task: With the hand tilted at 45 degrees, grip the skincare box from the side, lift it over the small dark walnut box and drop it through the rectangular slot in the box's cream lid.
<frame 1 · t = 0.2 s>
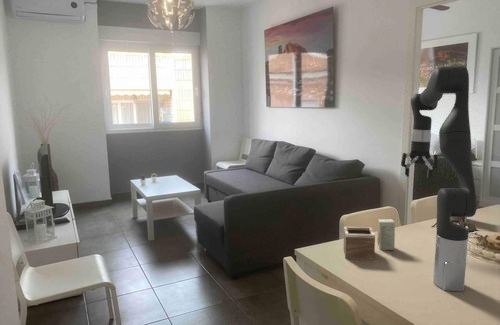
hand: (417, 177, 162), 28 cm above the table, tool pointing down, fingers open, 8 cm apart
slot box: (358, 254, 150), on the table
greeting card: (463, 222, 187), on the table
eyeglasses: (452, 232, 174), on the table
skincare box: (385, 248, 156), on the table
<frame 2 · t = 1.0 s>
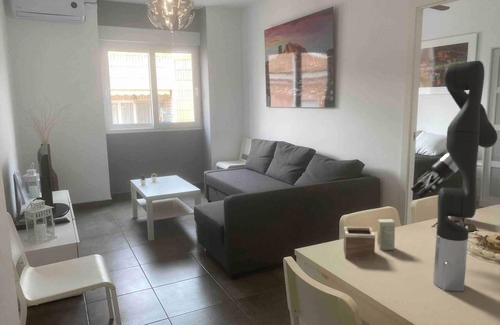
hand: (415, 193, 148), 24 cm above the table, tool tilted 45°, fingers open, 8 cm apart
nothing on the table moved.
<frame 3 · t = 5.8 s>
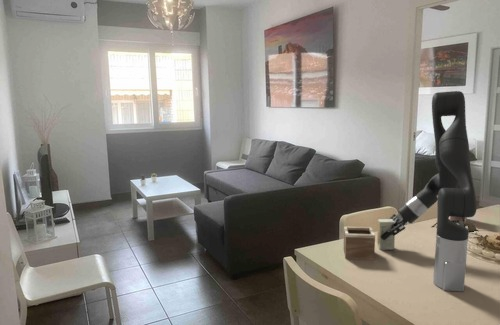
hand: (381, 236, 155), 5 cm above the table, tool tilted 45°, fingers closed on skincare box, 4 cm apart
skincare box: (385, 248, 156), on the table, touching gripper
everything else where it was.
when the fingers open (16 cm above the table, at t = 10.5 s): skincare box drops 11 cm, resting on slot box.
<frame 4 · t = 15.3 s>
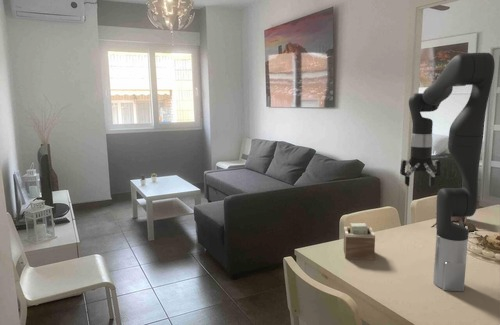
hand: (419, 185, 146), 28 cm above the table, tool pointing down, fingers open, 8 cm apart
skincare box: (358, 253, 149), point 1 cm above the table, touching slot box
everything else where it was.
at the end: skincare box inside the target area on the slot box (1.0 cm from its centre), point 0.6 cm above the slot box's base; the gripper is holding nothing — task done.
